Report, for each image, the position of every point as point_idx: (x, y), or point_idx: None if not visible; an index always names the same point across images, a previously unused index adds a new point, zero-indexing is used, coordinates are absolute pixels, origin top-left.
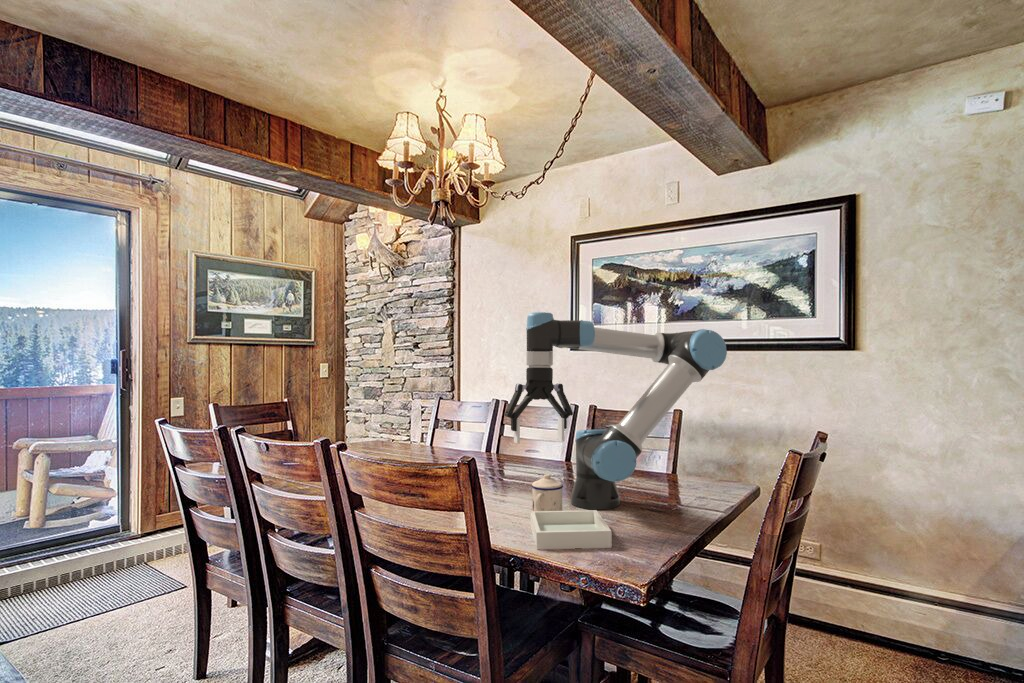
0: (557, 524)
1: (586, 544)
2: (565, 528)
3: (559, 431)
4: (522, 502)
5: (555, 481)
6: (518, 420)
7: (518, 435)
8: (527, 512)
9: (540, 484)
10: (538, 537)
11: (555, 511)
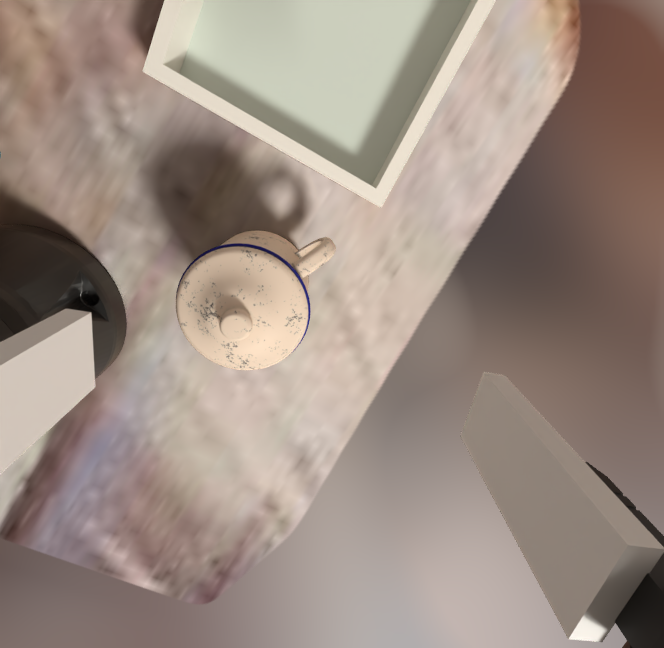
0: (310, 133)
1: None
2: (312, 73)
3: (36, 399)
4: (258, 426)
5: (213, 286)
6: (644, 538)
7: (527, 410)
8: None
9: (288, 296)
10: None
11: (303, 154)
